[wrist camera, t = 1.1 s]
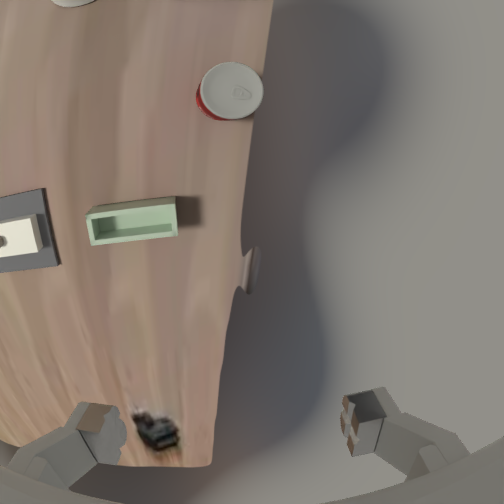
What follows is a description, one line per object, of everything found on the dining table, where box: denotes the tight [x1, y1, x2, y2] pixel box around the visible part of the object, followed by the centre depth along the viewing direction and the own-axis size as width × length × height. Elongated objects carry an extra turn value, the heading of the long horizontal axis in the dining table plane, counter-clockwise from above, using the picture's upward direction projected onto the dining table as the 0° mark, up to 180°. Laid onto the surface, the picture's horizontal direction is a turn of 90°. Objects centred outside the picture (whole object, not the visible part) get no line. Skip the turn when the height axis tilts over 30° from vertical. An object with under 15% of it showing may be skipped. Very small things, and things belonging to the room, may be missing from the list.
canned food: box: [196, 62, 264, 120], centre depth 39 cm, size 8×8×11 cm
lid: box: [0, 214, 43, 257], centre depth 41 cm, size 6×16×4 cm, turn 91°
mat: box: [0, 188, 59, 273], centre depth 43 cm, size 14×20×1 cm
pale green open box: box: [85, 196, 178, 246], centre depth 46 cm, size 5×14×5 cm, turn 91°
